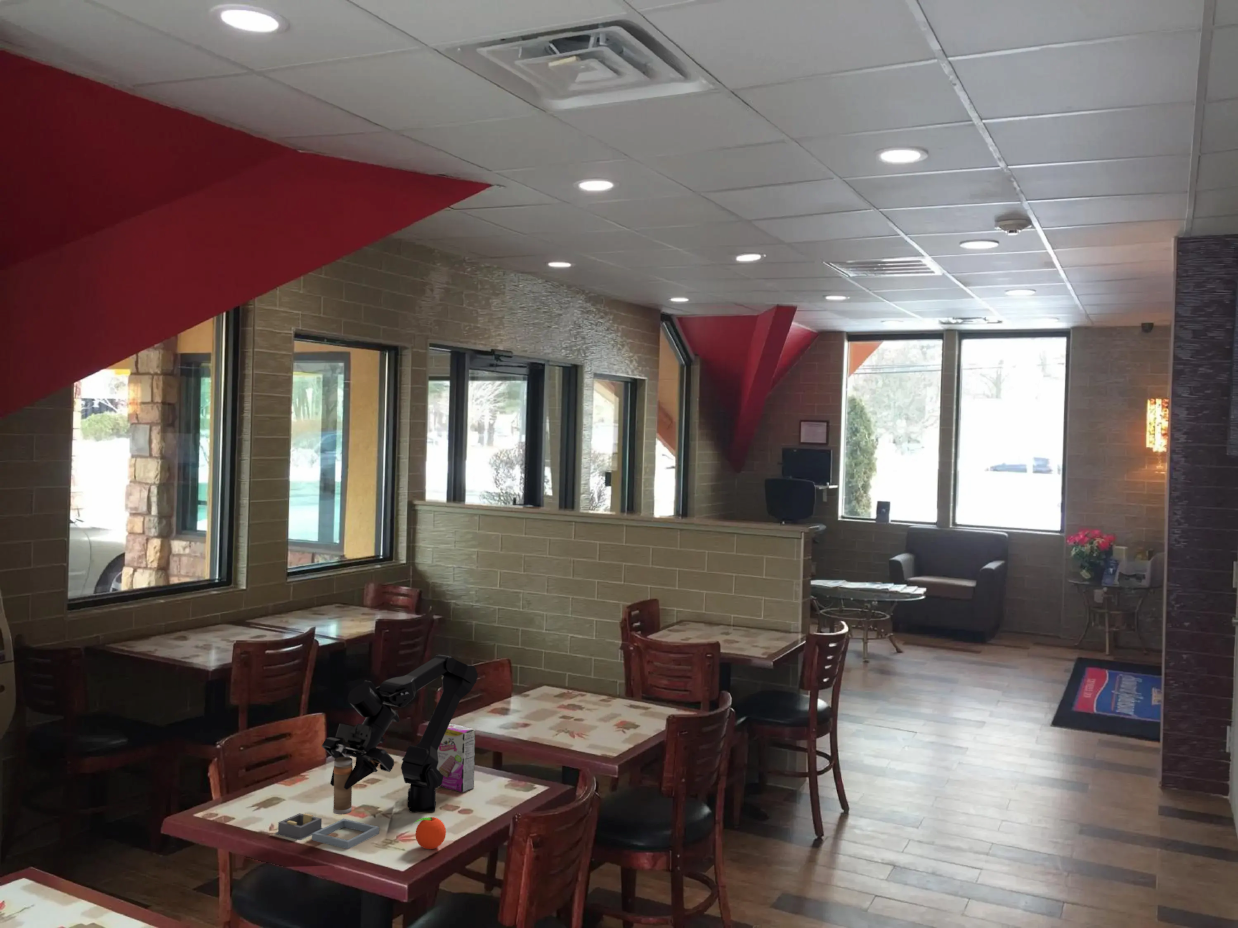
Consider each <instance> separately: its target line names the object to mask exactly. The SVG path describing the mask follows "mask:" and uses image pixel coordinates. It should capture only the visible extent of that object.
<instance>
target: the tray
mask: <svg viewBox="0 0 1238 928" xmlns="http://www.w3.org/2000/svg"><path fill="white" fill-rule="evenodd" d="M321 828H322V829H320V830H318V831H316V832H314V833H312V835H311V840H312V841H314V842H318V843H322V844H327V845H330V846H333V847H338V848H342V849H343V848H344V849H347V850H349V849H351V848H353V847H355V846H357V845H359V844H362V843H363V842H365V841H367V840H369V839H371V838H373V837H375V836H377V835H379V834H380V826H376V825H373V824H372V825H371V824H367V823H365V822H360V821H355V820H350V819H347V818H342V819H340V820H338V821H335V822H334V823H332V824H329V825H327V826H325V827H321ZM342 828H347V829H351V830H355V831H361V832H362V833H360V834H358V835H356V836H354V837H352V838H350V839H344V838H339V837H336V836H332V835H329V834H331V833H334V832H336V831H338V830H340V829H342Z"/></svg>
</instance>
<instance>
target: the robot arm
mask: <svg viewBox="0 0 1238 928" xmlns="http://www.w3.org/2000/svg"><path fill="white" fill-rule="evenodd" d="M441 676H442V680H441V683H442V693H441V695H440V698H439V700H438V702H437V704H436V707H435V709H433V710H434V711H433V713H432V715H431V717H430V719H429V721H428V722H427V723H428V724H427V726H426V727H425V730H424V732H423V735H422V737H421V739H420V741H419V742H417V744H416V745H412V744H411V745H409V746H408V747H407V748H406V752H405V754H404V756H403V757H402V759H401V761H402V763H401V765H400V770H401V773H402V778H403V781H404V784H410V786H409V787H408V790H407V808H408V812H409V813H434V812H436V807H437V801H436V800H437V797H436V796H437V795H436V793H437V791H436V790H437V789H438V788H439V787H440V786H439V785H441V784H442V781H443V775H442V774H441V773H440V772H439V771H438V769H437V765H438V752H437V751H438V748H439V746H440V743H441V741H442V739H443V737H444V735H445V732H446V730H447V728H448V726H449V724H450V723H451V722H452V719H453V717H454V715H455V712H456V711H457V708H458V705H459V703H460V701H461V700H462V699H463V698H464V697H465V696H467V695H468V694H469V693H470V692H471V691H472V690H473V687H474V685H476V683H477V681H478V678H479V677H478V672H477V668H476V667H475V666H474V665H471V664H466V663H464V662H461V661H459V660H457V659H456V658H454V657H452V656H450V655H445V654H436V655H434V656H433V657H432V658H431V659H429V661H427V662H425V663H424V664H422V665H420V666H419V667H417V668H415V669H413V670H412V671H410V672H409V673H407V674H406V675H402V676H396V677H392V678H389V679H385V680H383V682H381V683H380V684H379V685H378V686H377V687H376V686H375V685H374V683H373V682H372V680H371V681H370V680H364V681H363V683H362V684H361V683H360V684H358V685H357V686H355V687H354V688H353V689H350V691H349V692H348V694H347V695H348V696H347V702H348V703H349V704H350V705H351V707H352V708H353V709H354V710H355V711H356V712H357V713H358V714H359V715H360V716H361V717H362V718H365V719H364V721H363V722H362V724H361V723H357V724H356V725H355V726H352V725H347V724H344V723H339V725H338V727H337V729H336V730H337V731H336V734H335V737H331V736H330V737H326V738H325V739H324V741H323V742H322V744H321V747H322V748H323V749H324V750H325V751H326V753H328V754H329V755H330V756H331V757H332V758H333V759H336V758H339V757H350V758H355V764H354V765H353V763H352V766H354V767H353V770H352V772H351V774H350V776H349V777H348V779H347V781H346V783H345V785H344V788H345V789H346V790H348V789H349V788H350V787H352V788H353V787H354V786H355V785H356V784H358V783H359V782H360V781H361V780H363V779H364V778H365V779H366V777H368V776H370V775H371V774H373V773H377V772H378V766H379V769H380V771H384V772H388V773H391V771H392V770H393V767H394V765H395V759H394V758H393V757H392V756H391V755H390V754H389V753H388V752H387V750H386V749H382V748H379V747H378V745H379V744H384V742H385V738H384V735H385V733H386V732H387V730H388V728H389V726H390V725H391V724H392V722H395V723H399V722H400V717H399V711H398V709H397V710H396V709H392V708H391V706H393V707H396V708H397V707H398V708H404V707H406V706H407V705H408V704H410V702H411V701H413V699H414V698H415V695H416V693H417V692H418V691H419V690H422V688H424V687H425V686H427V685H429V684H430V683H432V682H434V681H435V680H437V679H438V678H439V677H441ZM340 738H341V739H344V742H343V740H341V739H340ZM345 743H346V744H347V745H346V744H345ZM377 747H378V748H377ZM332 769H333V770H332V775H331V778H330V785H331V786H332V787H334V768H332Z"/></svg>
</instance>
